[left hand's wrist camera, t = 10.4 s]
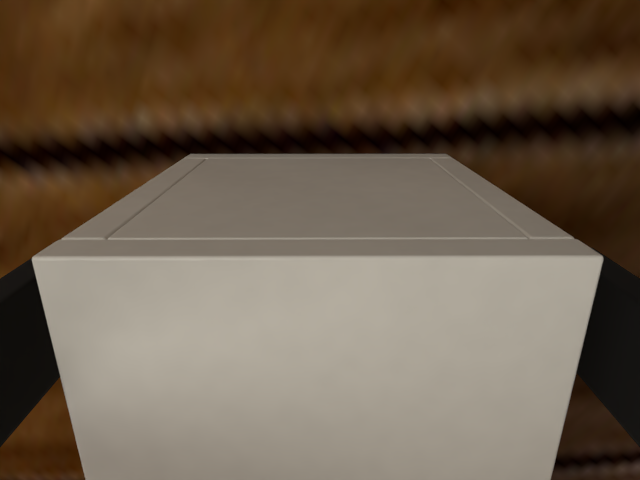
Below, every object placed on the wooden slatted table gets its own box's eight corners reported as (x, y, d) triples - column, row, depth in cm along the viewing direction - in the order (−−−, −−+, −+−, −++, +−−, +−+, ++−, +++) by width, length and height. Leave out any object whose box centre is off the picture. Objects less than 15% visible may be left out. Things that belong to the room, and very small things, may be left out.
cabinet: (415, 479, 23) (483, 765, 14) (222, 480, 23) (155, 767, 14) (447, 153, 17) (606, 255, 8) (189, 153, 17) (29, 257, 8)
